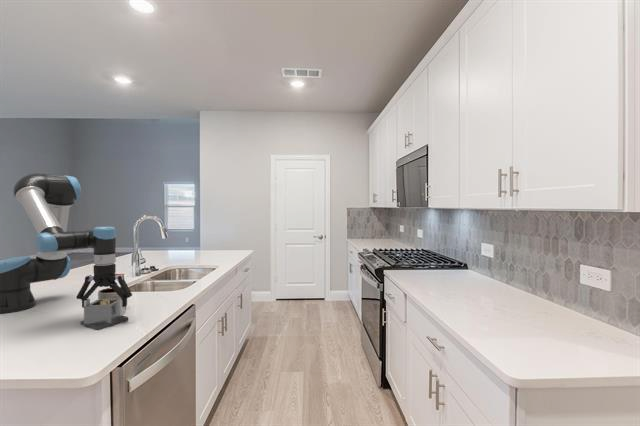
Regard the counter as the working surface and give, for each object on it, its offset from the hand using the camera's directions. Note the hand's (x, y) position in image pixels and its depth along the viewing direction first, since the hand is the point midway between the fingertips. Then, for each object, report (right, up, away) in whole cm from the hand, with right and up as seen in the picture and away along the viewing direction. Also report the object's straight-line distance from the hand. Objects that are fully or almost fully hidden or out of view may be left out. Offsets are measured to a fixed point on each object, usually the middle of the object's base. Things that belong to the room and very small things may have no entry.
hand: (104, 314), depth 129 cm
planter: (-7, -3, +15) cm, 17 cm away
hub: (0, -3, 0) cm, 3 cm away
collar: (0, -2, 0) cm, 2 cm away
